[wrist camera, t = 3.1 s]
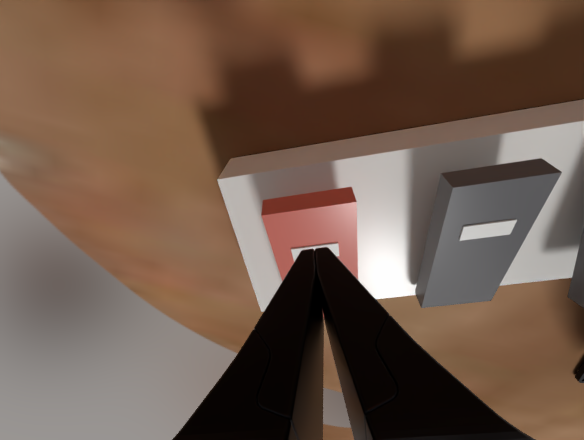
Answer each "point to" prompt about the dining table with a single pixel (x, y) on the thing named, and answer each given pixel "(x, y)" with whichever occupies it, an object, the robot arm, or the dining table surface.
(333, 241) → the rocker red
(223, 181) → the power strip
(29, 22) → the dining table surface
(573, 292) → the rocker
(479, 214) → the rocker middle
